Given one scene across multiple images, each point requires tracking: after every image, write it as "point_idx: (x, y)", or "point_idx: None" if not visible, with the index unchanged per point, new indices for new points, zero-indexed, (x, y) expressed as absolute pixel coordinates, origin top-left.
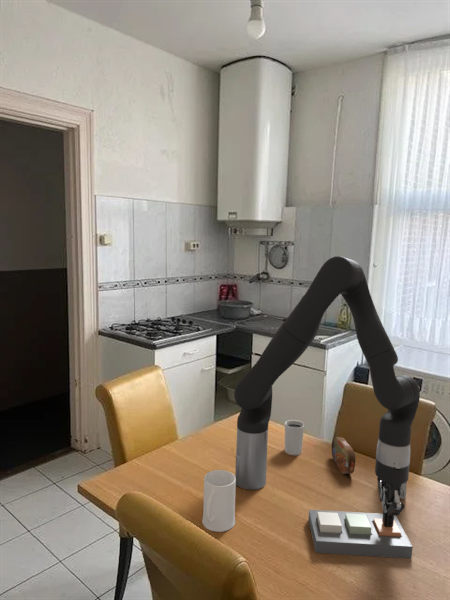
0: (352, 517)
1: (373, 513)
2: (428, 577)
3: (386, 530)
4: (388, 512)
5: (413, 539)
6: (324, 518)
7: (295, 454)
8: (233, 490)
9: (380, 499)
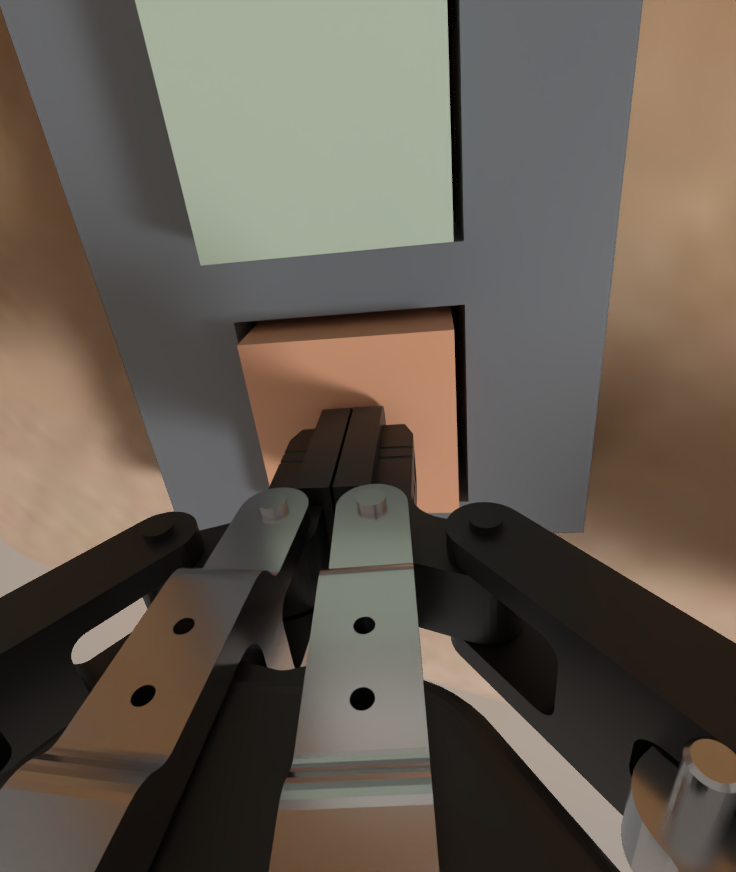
0: (346, 9)
1: (597, 348)
2: (91, 525)
3: (273, 412)
4: (110, 551)
5: None
6: None
7: None
8: None
9: (468, 524)
